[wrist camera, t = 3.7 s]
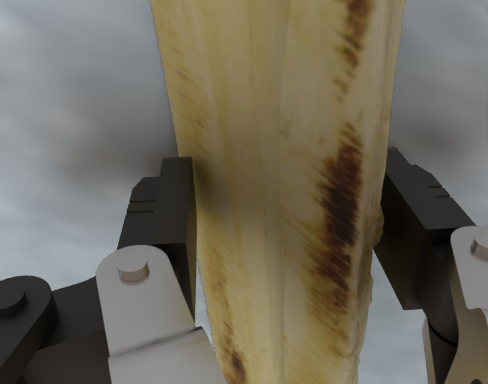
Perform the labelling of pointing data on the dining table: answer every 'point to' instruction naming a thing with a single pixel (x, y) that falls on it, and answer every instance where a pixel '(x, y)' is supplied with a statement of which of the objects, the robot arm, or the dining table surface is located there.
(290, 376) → the plank
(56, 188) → the dining table surface
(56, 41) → the dining table surface
